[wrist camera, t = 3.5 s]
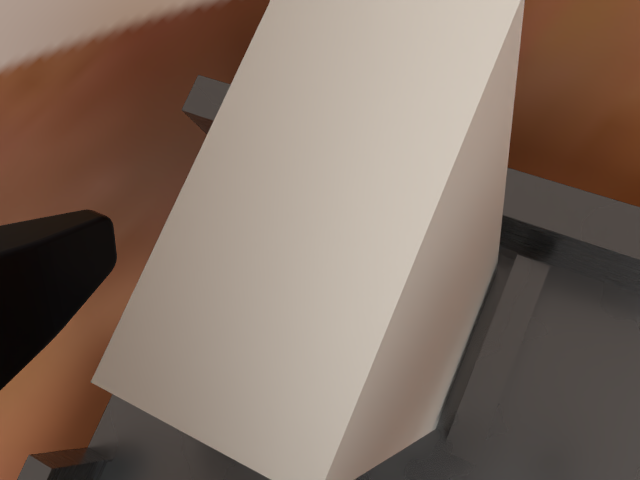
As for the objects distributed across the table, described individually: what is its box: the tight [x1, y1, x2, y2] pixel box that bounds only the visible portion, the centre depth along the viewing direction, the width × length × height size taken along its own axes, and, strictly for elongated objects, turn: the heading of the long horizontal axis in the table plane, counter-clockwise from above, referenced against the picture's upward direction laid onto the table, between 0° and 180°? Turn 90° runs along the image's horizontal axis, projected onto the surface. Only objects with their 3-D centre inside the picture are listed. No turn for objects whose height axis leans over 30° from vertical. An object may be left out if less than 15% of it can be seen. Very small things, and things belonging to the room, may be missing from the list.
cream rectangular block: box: [91, 0, 525, 480], centre depth 11 cm, size 4×2×12 cm, turn 156°
